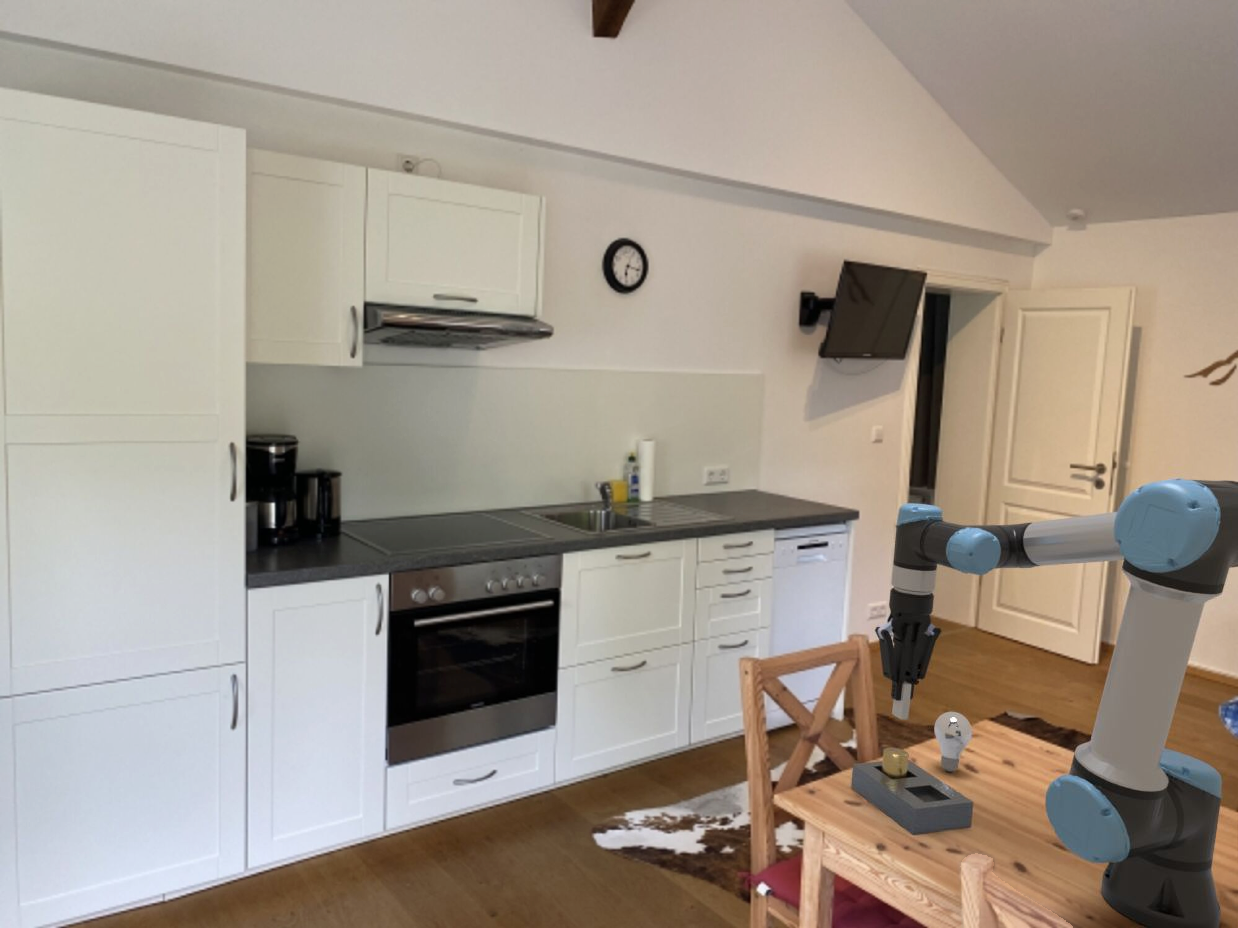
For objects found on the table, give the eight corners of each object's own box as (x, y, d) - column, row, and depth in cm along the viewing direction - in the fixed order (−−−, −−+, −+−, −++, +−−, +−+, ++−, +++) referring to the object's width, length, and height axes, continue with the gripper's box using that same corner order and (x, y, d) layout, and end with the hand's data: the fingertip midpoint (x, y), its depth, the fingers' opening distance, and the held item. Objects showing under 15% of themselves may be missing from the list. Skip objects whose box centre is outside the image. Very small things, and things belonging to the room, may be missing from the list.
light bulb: (962, 765, 182) (967, 708, 181) (972, 780, 175) (978, 720, 174) (926, 762, 182) (932, 704, 181) (935, 777, 175) (941, 717, 174)
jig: (970, 826, 156) (973, 801, 155) (913, 834, 152) (915, 808, 151) (904, 781, 173) (906, 758, 172) (851, 787, 168) (853, 763, 168)
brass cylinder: (909, 798, 165) (913, 756, 165) (889, 800, 164) (893, 758, 163) (894, 788, 169) (898, 746, 169) (874, 790, 168) (878, 748, 167)
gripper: (928, 584, 169) (916, 706, 171) (869, 585, 164) (857, 711, 166) (956, 594, 162) (943, 721, 164) (895, 595, 157) (882, 726, 159)
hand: (900, 716), depth 165 cm, fingers closed
